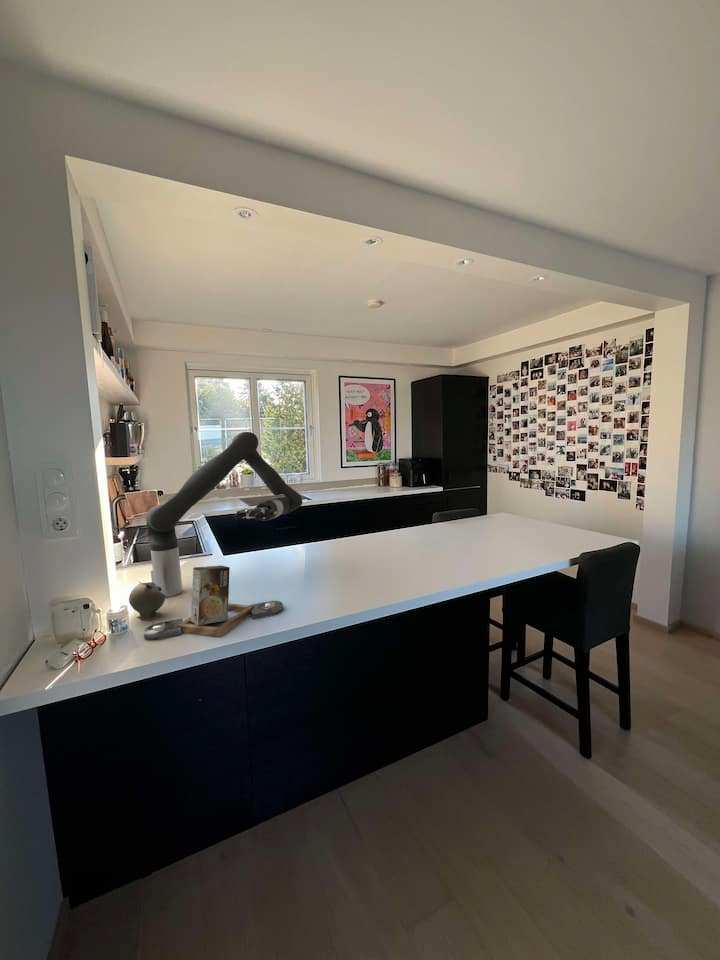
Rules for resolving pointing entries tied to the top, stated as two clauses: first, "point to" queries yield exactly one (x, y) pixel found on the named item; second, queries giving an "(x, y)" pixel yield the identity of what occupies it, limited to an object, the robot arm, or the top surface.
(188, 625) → the wooden picture frame
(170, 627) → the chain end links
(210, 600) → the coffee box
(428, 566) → the top surface
